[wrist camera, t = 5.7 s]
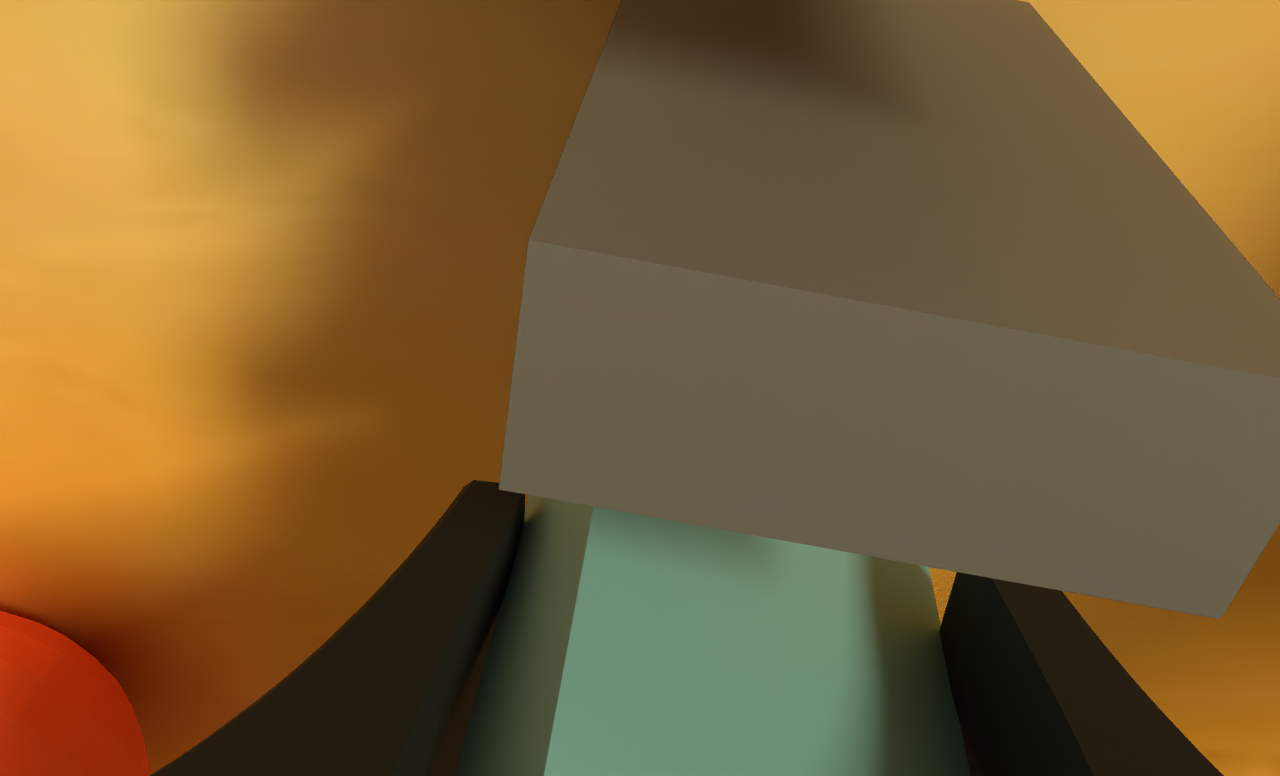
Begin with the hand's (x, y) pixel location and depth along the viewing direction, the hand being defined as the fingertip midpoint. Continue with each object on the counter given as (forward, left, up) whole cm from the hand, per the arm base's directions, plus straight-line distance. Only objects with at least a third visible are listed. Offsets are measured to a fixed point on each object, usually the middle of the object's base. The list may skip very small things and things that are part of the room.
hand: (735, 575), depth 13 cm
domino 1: (0, -5, -5) cm, 7 cm away
